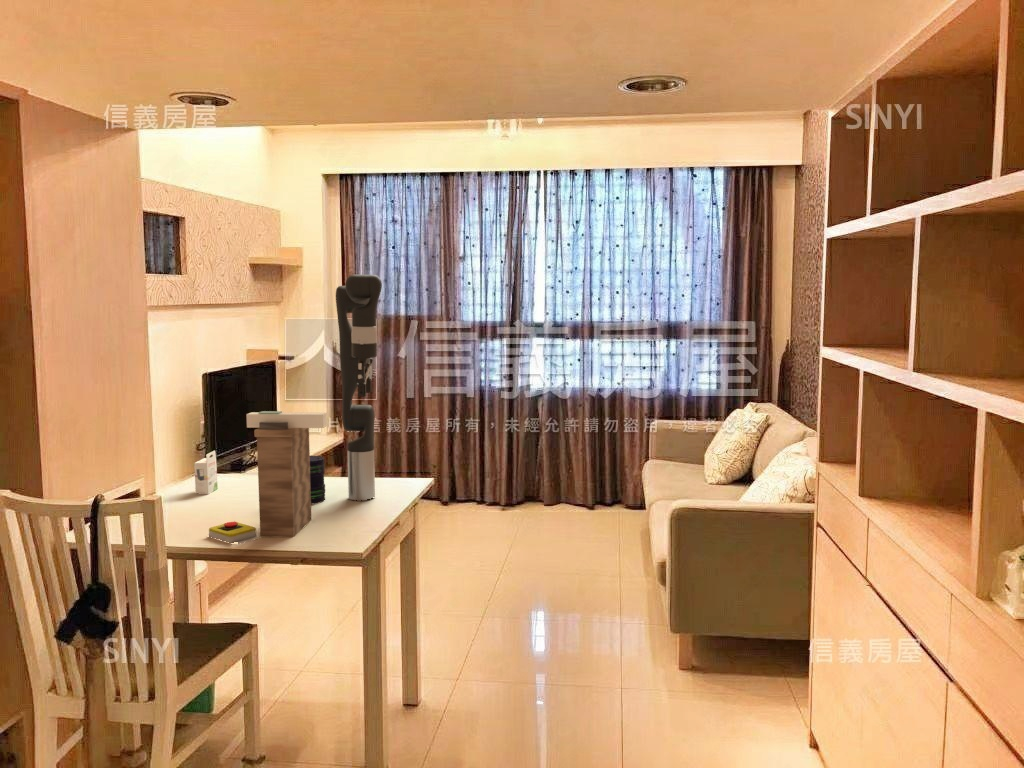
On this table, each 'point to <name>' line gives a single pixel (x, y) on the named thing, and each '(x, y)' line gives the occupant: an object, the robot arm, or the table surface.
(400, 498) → the table surface
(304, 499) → the tall stand
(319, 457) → the dark blue cylinder
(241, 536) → the emergency button
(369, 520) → the table surface
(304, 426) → the bar
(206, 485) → the ink box
